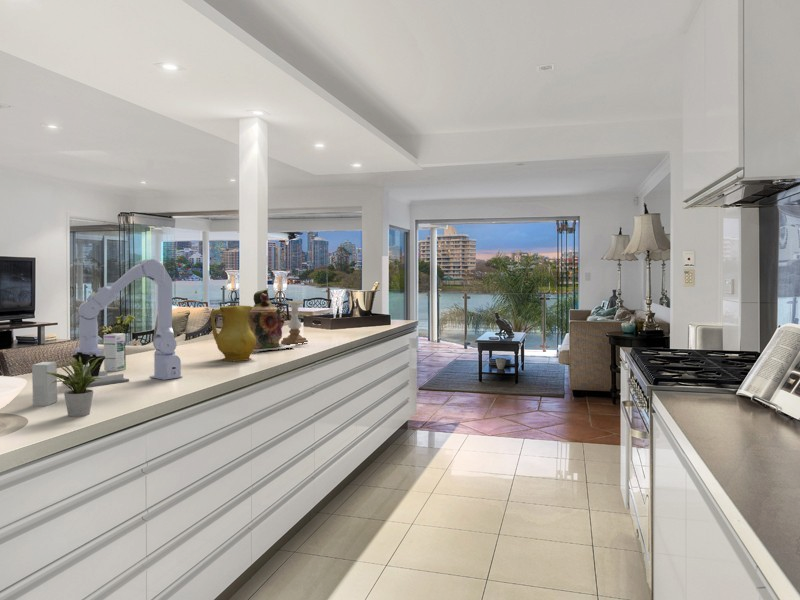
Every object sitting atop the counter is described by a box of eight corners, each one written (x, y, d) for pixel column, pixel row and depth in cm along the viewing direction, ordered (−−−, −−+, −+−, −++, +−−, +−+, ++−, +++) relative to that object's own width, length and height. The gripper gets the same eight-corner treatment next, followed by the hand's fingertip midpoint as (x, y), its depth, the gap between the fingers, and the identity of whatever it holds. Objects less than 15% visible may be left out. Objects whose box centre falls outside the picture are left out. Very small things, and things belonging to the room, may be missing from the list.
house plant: (81, 406, 174) (80, 349, 173) (120, 409, 170) (120, 352, 169) (38, 417, 160) (38, 355, 159) (80, 421, 156) (80, 358, 155)
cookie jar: (229, 348, 316) (230, 287, 315) (268, 345, 335) (268, 287, 334) (258, 352, 300) (258, 288, 299) (296, 349, 319) (297, 288, 318)
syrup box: (116, 371, 236) (116, 334, 236) (103, 370, 238) (103, 334, 237) (126, 369, 242) (125, 333, 241) (113, 368, 243) (112, 332, 243)
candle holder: (295, 345, 335) (295, 302, 334) (280, 343, 341) (280, 301, 340) (308, 343, 344) (308, 301, 343) (294, 342, 350) (294, 301, 349)
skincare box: (42, 401, 179) (42, 361, 179) (57, 401, 179) (57, 361, 179) (31, 406, 173) (31, 364, 173) (47, 406, 173) (47, 364, 173)
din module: (99, 380, 211) (99, 365, 211) (85, 382, 207) (85, 366, 207) (93, 379, 213) (93, 363, 213) (79, 381, 209) (79, 365, 209)
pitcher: (242, 362, 264) (241, 304, 264) (206, 361, 270) (205, 306, 270) (263, 358, 280) (262, 304, 280) (229, 358, 286) (228, 305, 286)
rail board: (129, 381, 215) (129, 373, 215) (84, 387, 202) (84, 379, 202) (107, 377, 223) (107, 369, 223) (63, 383, 210) (62, 375, 210)
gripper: (66, 335, 210) (66, 374, 211) (88, 338, 202) (88, 378, 203) (86, 334, 216) (86, 372, 217) (108, 337, 208) (108, 376, 208)
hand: (88, 375), depth 210 cm, fingers open, 7 cm apart
